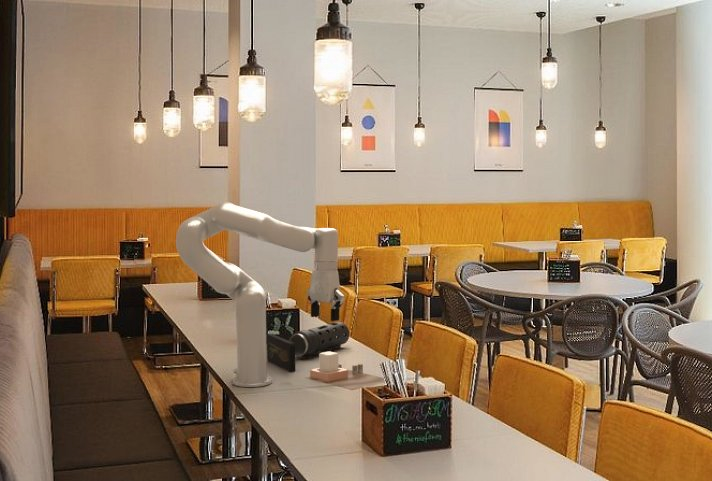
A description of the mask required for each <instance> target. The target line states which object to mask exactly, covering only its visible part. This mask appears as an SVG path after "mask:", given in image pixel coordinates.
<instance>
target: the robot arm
mask: <svg viewBox="0 0 712 481" xmlns="http://www.w3.org/2000/svg"><path fill="white" fill-rule="evenodd" d="M224 231H228V232H232V233H234V234H239V235H243V236H246V237H248V238H252V239H255V240H258V241H261V242H264V243H265V242H266V243H269V244H273V245H275V246H278V247H282V248H285V249H289V250H292V251H295V252H299V253H305V252H309V251H310V250H311V249H313V251H314V255H313V256H314V258H313V260H314V261H313V265H314V266H313V269H312V272H311V277H310V285H309V288H308V289H307V290H306V295H307V296H308V297H307V299H308V301H309V305H310V317H311V318H316V317H319V316H320V302H321V303H329V304H330V306H331V309H330V322H339V321H340V309H341V308H342V305H343V304H344V301H345V295H344V294H343V292H341V291H340V290H341V288H340V287H341V286H340V277H339V271H338V257H339V256H338V255H339V254H338V251H339V250H338V249H339V248H338V246H339V231H338V230H337V229H335V228H331V227H320V228H315V227H314V228H313V227H307V226H296V225H294V224H293V225H292V224H290V223H288V222H287V223H286V222H283V221H281V220H278V219H275V218H273V217H272V216H270V215H268V214H266V213H263V212H259V211H256V210H253V209H249V208H246V207H242V206H240V205H236V204H234V203H232V202H229V201H222V202H219V203H218V204H217V205H214V206H212V207H210V208H209V209H207V210H204V211H202V212H200V213H198V214H196V215H193V216H191V217H189V218H187V219H186V220H184V221H183V222H181V224H180V225H179V226H178V229H177V232H176V237H175V247H176V248H175V249H176V250H177V254H178V256H179V257H180V259H181V261H183V263H184V264H185V265H186V266H187V267H188V268H189V269H191V270H192V271H193V272H194V273H195V274H196V275H198V277H200V278H201V279H202V280H203V281H204V282H206V283H207V284H208V285H209V286H210V287H212V288H213V289H214V290H215V291H216V292H217V293H219V294H222V295H227V297H229V298H230V299H231V300H232V301H234V303H235V322H236V323H235V324H236V325H235V326H236V330H235V331H236V368H234V369H233V370H232V373H233V374H236V377H235V378H234V379H233V380H232V385H234V386H236V387H239V388H240V387H241V388H257V387H264V386H268V385H270V384H272V382H273V378H272V377H271V376H268V361H267V295H266V291H265V290H264V288H263V287H262V286H261V285H260V283H258V282H257V281H256V280H255V279H253V277H251V276H250V275H248V274H247V273H246V272H245V271H243V270H242V269H241V268H240V267H238V265H236V264H234V263H231V262H228V261H227V262H226V261H224V260H222V259H221V258H220V257H219V256H218V255H217V254H215V253H214V252H213V251H212V250H210V248H208V247H207V246H206V245H205V244H204V241H205V240H207V239H208V238H210V237H213V236H215V235H217V234H219V233H221V232H224Z"/></svg>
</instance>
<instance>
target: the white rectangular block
mask: <svg viewBox="0 0 712 481" xmlns="http://www.w3.org/2000/svg"><path fill="white" fill-rule="evenodd" d="M318 360H319V362H318V364H319V367H318V368H319V371H322V372H326V373H330V372H335V371H338V364H339V352H335V351H334V352H333V351H331V350H329V351H324V352H318Z"/></svg>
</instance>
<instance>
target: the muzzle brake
mask: <svg viewBox="0 0 712 481" xmlns="http://www.w3.org/2000/svg"><path fill="white" fill-rule="evenodd" d="M349 339H350V330H349V328H348V326H347V325H346V324H345V323H344V322H342V321H334V322H331V323H328V324H324V325H321V326H317V327H314V328H310V329H303V330H299V331H295V332H294V333H293V334H292V336H291V337H289V340H288V341H291V342H293V343H294V344H295V357H300V358H305V357H306V358H311V357H314V356H315V354H317V353H318V354H319V353H323V352H328V351H331V350H335V349H337V348H341V346H342V345H344V344H346V343H347V342H348V341H349Z"/></svg>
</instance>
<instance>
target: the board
mask: <svg viewBox="0 0 712 481" xmlns="http://www.w3.org/2000/svg"><path fill="white" fill-rule="evenodd" d="M342 365H343V364H341V363H338V368H342ZM346 369H347V368H346ZM363 369H364V366H363V363H358V364H354V365H352V368H351V369H347V370H348V377H347V378H343V379H338V380H334V381H330V382H327V381H323V380H319V379H315V378H311V377H310V376H306V377H304V378H305V379H308V380H312V381H316V382H319V383H323V384H326V385H330V386H331V385H332V386H335V387H339V388H343V389H346V390H351V391H354V390H359V389H362V388H361V387H363V388H365V387H364V386H367V387H370V386H374V385H379V384H383V383H386V382H385V381H384V378H385V377H383V376H382V377H381V376H377V375H373V374H368V373H364V370H363Z"/></svg>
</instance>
